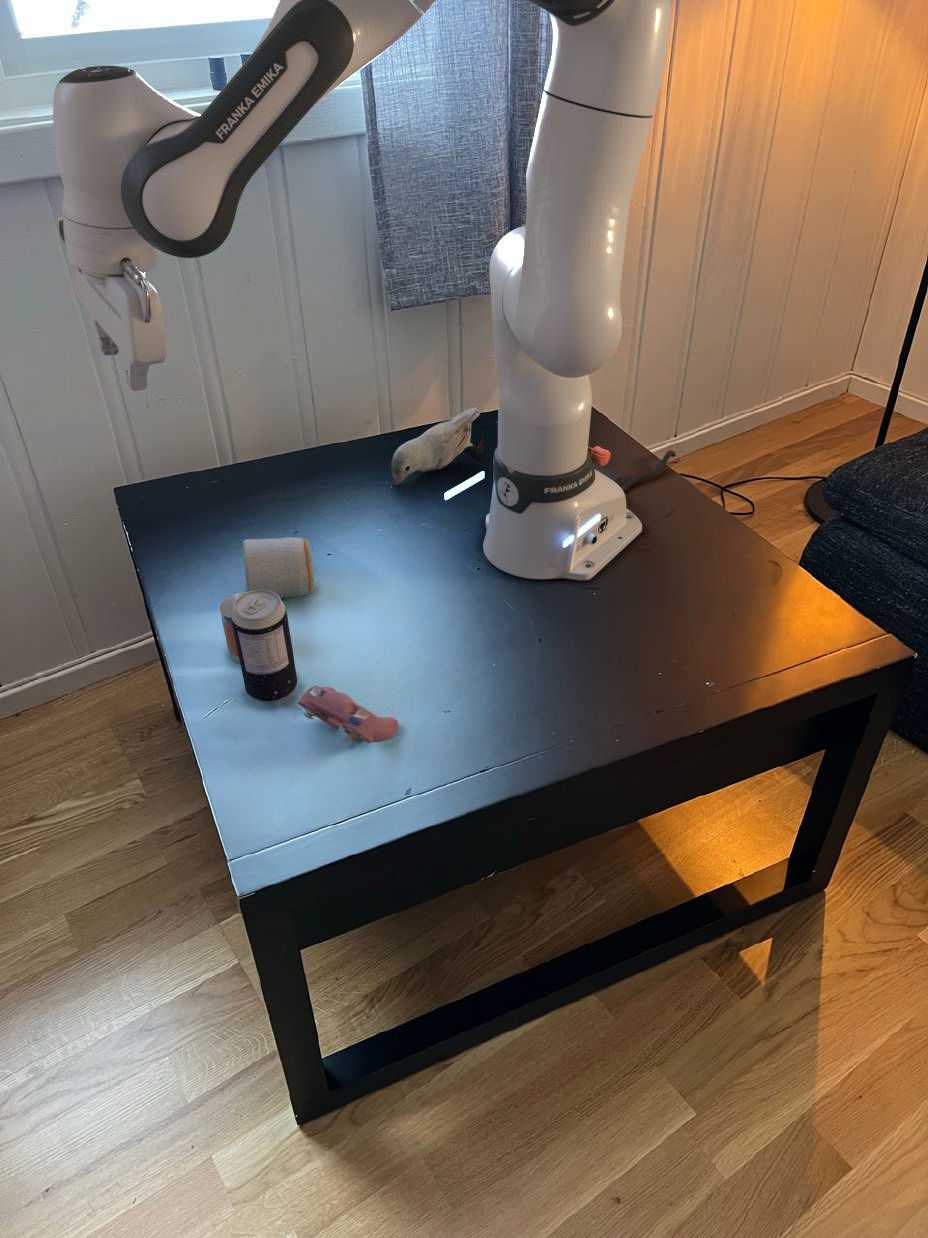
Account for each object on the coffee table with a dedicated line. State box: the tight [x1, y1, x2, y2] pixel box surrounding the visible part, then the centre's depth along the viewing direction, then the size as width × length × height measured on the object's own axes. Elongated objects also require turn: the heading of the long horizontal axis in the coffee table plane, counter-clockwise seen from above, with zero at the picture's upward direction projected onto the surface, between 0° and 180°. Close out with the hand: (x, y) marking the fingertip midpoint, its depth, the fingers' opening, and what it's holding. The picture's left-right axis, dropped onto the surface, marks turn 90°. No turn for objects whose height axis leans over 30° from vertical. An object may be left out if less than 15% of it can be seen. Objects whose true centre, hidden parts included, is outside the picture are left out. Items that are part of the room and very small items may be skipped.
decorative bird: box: [390, 406, 484, 486], centre depth 138 cm, size 5×16×8 cm, turn 130°
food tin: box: [219, 592, 245, 666], centre depth 105 cm, size 5×5×7 cm
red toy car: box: [297, 685, 400, 744], centre depth 96 cm, size 10×5×7 cm, turn 56°
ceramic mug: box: [242, 536, 315, 600], centre depth 115 cm, size 11×8×8 cm
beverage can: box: [231, 590, 298, 704], centre depth 99 cm, size 6×6×12 cm
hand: (122, 369), depth 105 cm, fingers open, 8 cm apart
